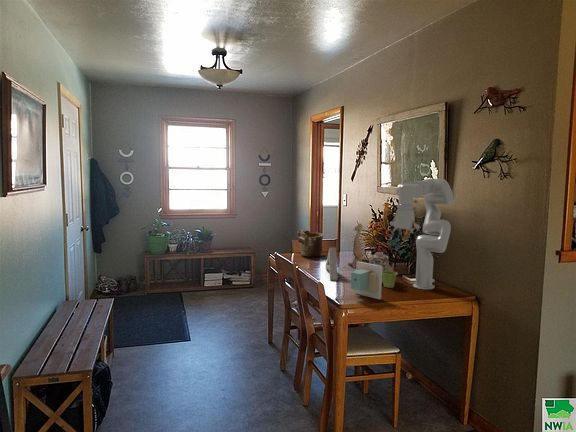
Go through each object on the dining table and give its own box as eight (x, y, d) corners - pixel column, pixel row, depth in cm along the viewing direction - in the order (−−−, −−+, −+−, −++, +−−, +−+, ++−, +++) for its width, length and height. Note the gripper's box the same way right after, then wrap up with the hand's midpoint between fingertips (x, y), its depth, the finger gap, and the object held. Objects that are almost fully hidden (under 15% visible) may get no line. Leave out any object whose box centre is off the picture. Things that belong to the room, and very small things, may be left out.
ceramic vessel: (337, 247, 349) (319, 223, 342) (314, 267, 345) (296, 243, 339) (327, 242, 370) (310, 219, 364) (305, 261, 367) (287, 238, 360)
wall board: (356, 292, 248) (358, 261, 246) (380, 299, 237) (382, 266, 235) (351, 294, 244) (352, 262, 242) (375, 300, 233) (376, 267, 231)
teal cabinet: (362, 284, 242) (362, 268, 241) (371, 286, 238) (371, 270, 237) (350, 288, 235) (350, 272, 234) (359, 291, 231) (359, 274, 229)
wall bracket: (332, 295, 300) (337, 279, 274) (326, 295, 300) (330, 279, 274) (331, 265, 311) (336, 247, 285) (325, 265, 311) (329, 247, 285)
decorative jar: (388, 279, 282) (389, 251, 280) (387, 283, 271) (388, 254, 269) (369, 277, 285) (370, 250, 284) (367, 281, 274) (368, 253, 273)
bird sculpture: (346, 265, 323) (347, 222, 319) (361, 264, 326) (362, 222, 322) (353, 269, 312) (353, 224, 309) (368, 268, 315) (369, 224, 312)
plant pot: (378, 284, 268) (379, 270, 267) (394, 284, 268) (394, 270, 268) (383, 288, 258) (383, 274, 258) (398, 288, 259) (399, 274, 258)
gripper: (387, 206, 238) (386, 238, 240) (416, 209, 226) (414, 242, 228) (395, 206, 243) (393, 236, 245) (423, 208, 231) (422, 240, 233)
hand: (403, 239), depth 236 cm, fingers open, 9 cm apart
